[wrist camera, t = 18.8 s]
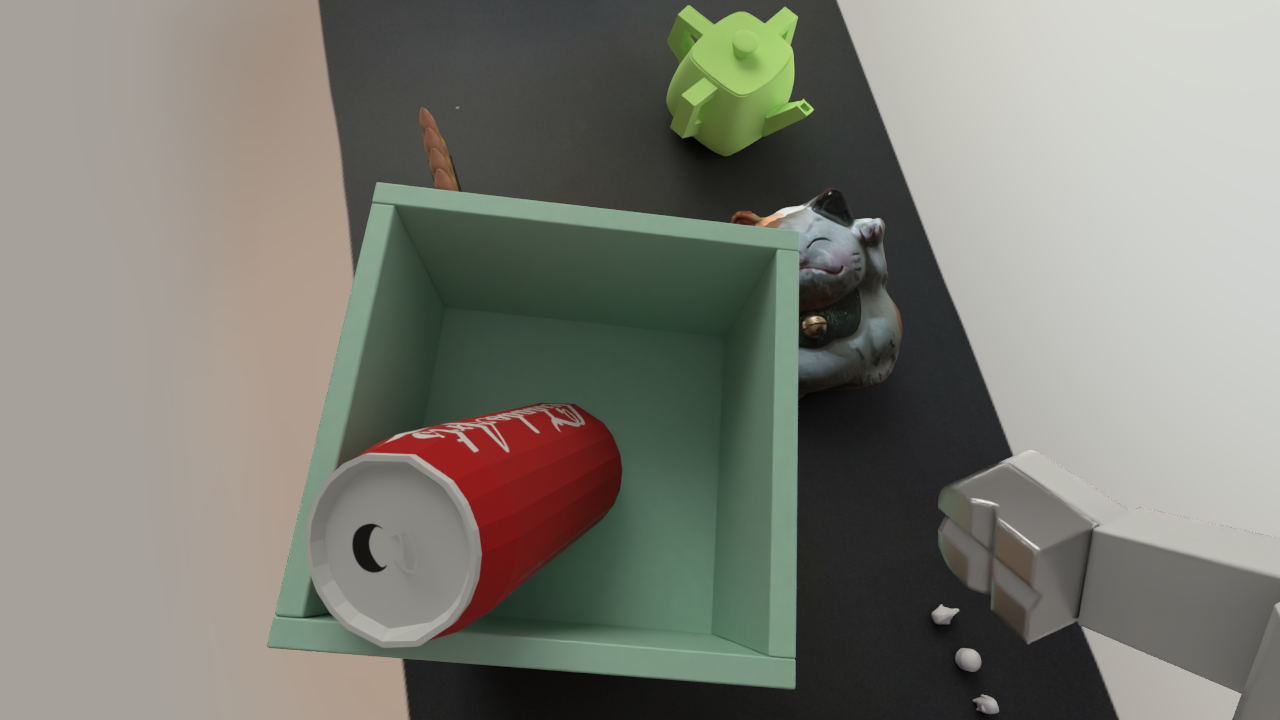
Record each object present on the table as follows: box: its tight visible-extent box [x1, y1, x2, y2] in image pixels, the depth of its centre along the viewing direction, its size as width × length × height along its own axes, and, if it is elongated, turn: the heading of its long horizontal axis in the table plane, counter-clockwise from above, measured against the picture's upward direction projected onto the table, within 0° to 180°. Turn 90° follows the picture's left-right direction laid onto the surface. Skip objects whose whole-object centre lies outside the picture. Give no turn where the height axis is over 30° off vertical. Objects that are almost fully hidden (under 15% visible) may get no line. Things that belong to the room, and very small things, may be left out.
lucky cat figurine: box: [731, 188, 902, 399], centre depth 53 cm, size 15×12×14 cm
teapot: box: [666, 5, 814, 156], centre depth 60 cm, size 12×12×10 cm
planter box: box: [267, 182, 799, 689], centre depth 26 cm, size 15×15×10 cm
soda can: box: [305, 403, 622, 648], centre depth 22 cm, size 6×6×12 cm
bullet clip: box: [419, 107, 462, 192], centre depth 53 cm, size 11×2×12 cm, turn 18°
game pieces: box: [931, 604, 999, 714], centre depth 50 cm, size 8×2×2 cm, turn 18°
